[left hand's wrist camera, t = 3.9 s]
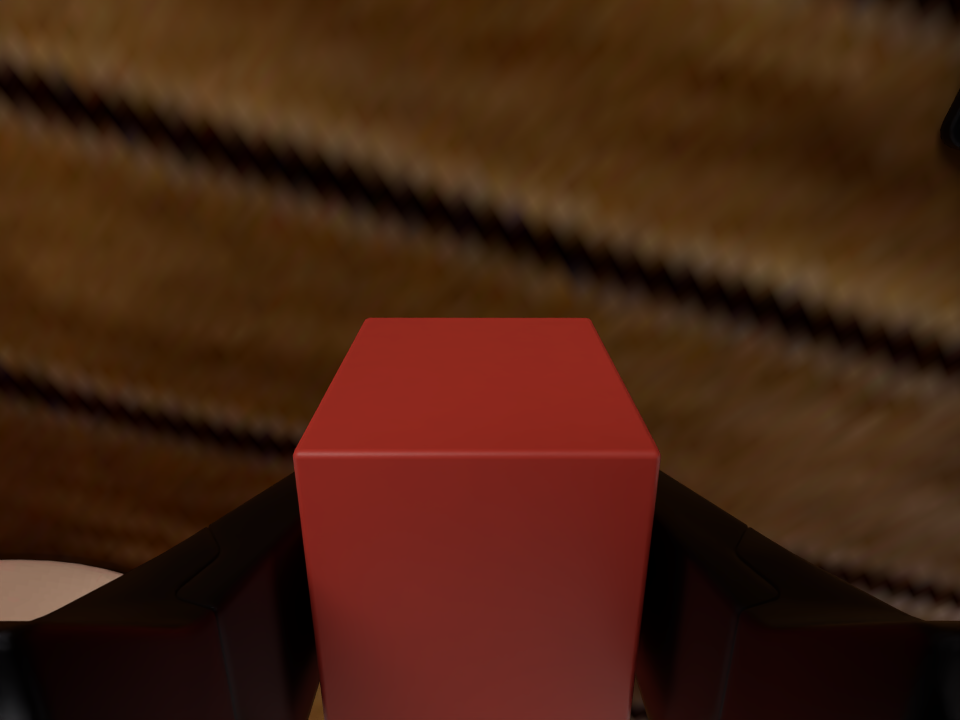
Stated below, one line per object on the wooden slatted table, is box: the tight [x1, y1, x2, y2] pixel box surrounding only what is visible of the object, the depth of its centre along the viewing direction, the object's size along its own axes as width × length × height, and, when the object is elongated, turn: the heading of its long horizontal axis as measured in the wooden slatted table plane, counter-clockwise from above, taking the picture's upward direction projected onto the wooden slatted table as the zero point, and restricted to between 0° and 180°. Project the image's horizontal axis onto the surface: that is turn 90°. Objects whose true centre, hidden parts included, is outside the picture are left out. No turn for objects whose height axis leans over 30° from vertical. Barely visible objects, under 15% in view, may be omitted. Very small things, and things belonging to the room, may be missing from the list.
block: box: [293, 318, 661, 720], centre depth 10 cm, size 4×5×5 cm
